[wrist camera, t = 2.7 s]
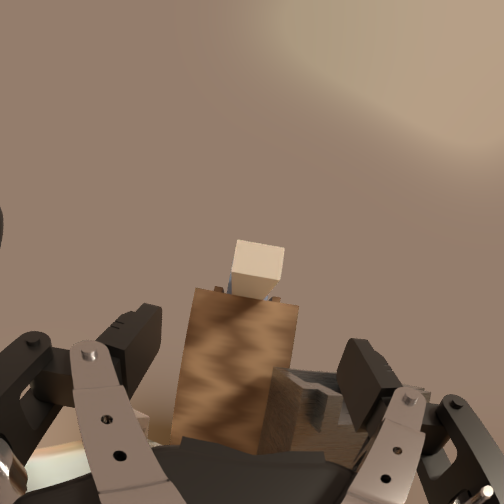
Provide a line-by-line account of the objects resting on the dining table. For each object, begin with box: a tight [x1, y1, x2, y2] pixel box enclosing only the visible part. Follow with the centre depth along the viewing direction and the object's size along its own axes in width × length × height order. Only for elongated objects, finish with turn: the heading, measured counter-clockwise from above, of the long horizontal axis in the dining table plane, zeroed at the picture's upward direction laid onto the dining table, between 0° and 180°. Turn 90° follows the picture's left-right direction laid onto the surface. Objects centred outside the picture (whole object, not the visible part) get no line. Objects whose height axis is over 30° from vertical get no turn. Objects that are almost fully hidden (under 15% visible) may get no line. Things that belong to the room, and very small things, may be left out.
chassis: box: [256, 366, 431, 468], centre depth 17 cm, size 10×15×25 cm, turn 4°
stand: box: [170, 286, 299, 455], centre depth 32 cm, size 12×11×33 cm
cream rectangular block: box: [227, 240, 284, 301], centre depth 31 cm, size 5×22×6 cm, turn 4°
